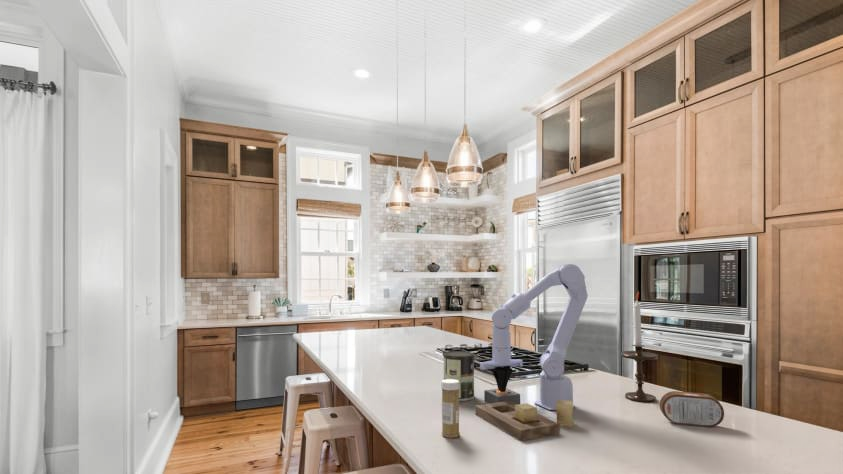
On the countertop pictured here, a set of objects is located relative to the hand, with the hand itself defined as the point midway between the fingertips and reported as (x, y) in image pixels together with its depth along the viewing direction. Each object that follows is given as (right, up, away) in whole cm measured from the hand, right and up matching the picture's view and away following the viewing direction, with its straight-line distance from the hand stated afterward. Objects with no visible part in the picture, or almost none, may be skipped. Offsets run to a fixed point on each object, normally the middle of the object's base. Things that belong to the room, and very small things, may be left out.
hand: (501, 391), depth 139 cm
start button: (0, -2, 0) cm, 2 cm away
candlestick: (+46, -5, +6) cm, 47 cm away
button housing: (0, -4, 0) cm, 4 cm away
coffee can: (-13, -5, +7) cm, 16 cm away
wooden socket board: (0, -2, -19) cm, 19 cm away
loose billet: (+14, -2, -20) cm, 24 cm away
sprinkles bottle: (-18, -2, -27) cm, 33 cm away
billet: (+2, -2, -23) cm, 23 cm away
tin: (+48, -3, -19) cm, 52 cm away
